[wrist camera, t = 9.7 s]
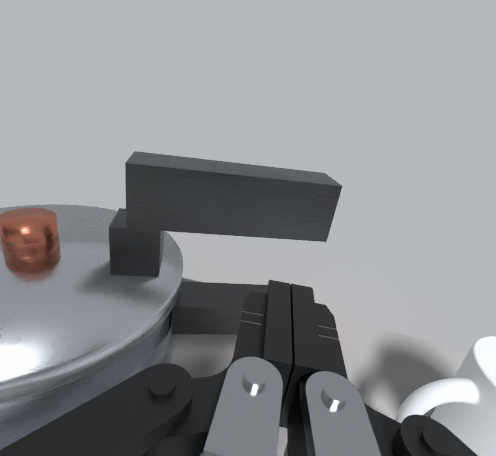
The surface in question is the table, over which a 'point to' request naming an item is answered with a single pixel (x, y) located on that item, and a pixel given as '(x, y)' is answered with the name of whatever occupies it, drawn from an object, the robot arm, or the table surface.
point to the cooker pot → (134, 355)
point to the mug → (463, 399)
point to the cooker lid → (130, 259)
